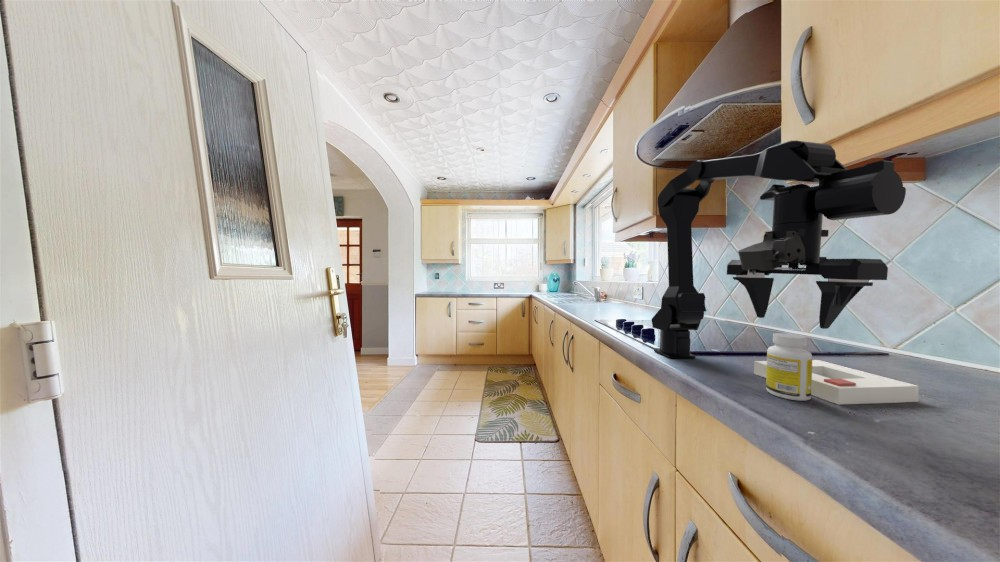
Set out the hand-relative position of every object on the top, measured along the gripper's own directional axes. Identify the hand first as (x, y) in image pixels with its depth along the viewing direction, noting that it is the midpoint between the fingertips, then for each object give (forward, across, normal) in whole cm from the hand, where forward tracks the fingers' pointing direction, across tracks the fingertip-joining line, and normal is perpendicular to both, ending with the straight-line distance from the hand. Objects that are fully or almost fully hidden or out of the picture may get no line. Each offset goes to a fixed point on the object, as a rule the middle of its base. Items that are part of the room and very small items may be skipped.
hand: (789, 322), depth 50 cm
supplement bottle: (+12, 0, +1) cm, 12 cm away
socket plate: (+12, -2, +12) cm, 17 cm away
